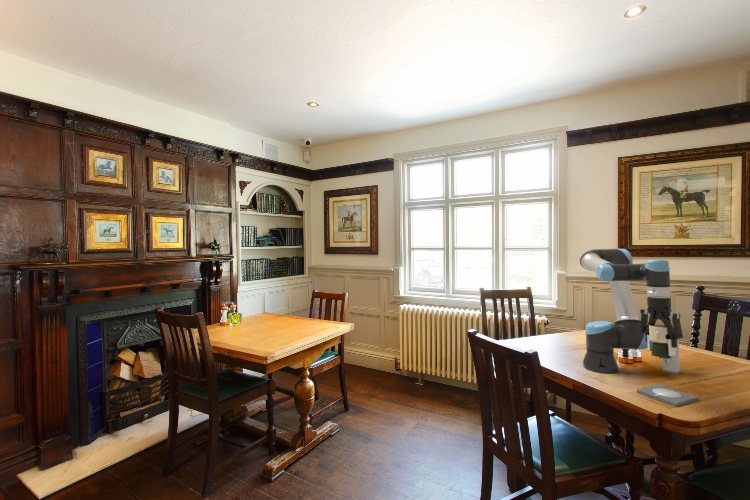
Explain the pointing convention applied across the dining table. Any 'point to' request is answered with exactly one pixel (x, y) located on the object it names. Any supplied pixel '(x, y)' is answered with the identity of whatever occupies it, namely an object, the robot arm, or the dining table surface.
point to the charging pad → (667, 395)
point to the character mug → (659, 341)
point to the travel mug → (672, 362)
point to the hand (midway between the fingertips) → (661, 352)
